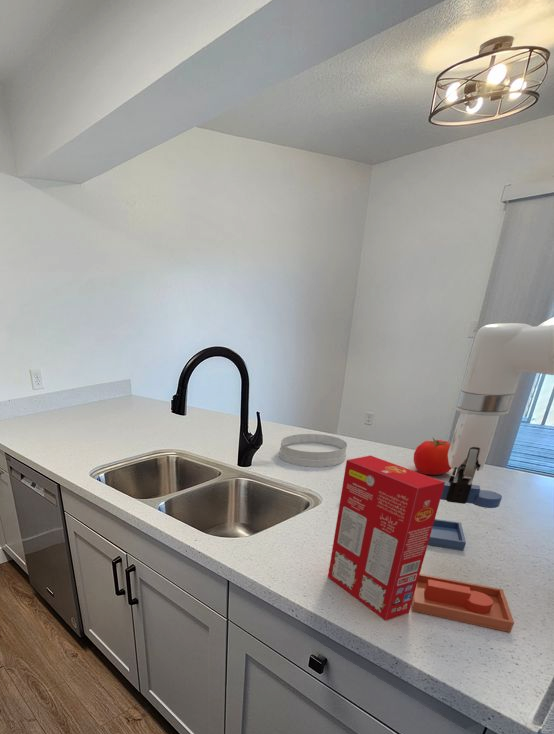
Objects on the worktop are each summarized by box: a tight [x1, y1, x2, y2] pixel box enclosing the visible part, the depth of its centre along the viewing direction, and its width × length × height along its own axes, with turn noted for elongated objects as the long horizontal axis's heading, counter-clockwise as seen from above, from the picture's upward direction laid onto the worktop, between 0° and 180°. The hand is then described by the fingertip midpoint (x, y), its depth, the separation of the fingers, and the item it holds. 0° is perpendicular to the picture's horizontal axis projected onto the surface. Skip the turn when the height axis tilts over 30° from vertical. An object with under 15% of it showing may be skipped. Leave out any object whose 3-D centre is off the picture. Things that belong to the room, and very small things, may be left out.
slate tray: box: [427, 518, 467, 551], centre depth 101 cm, size 14×10×2 cm
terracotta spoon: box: [424, 579, 493, 614], centre depth 78 cm, size 4×10×3 cm, turn 63°
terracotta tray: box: [411, 573, 515, 633], centre depth 78 cm, size 14×10×2 cm
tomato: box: [413, 437, 453, 476], centre depth 132 cm, size 12×12×10 cm
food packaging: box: [327, 454, 446, 621], centre depth 77 cm, size 15×5×25 cm, turn 20°
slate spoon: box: [440, 480, 503, 509], centre depth 82 cm, size 4×10×3 cm, turn 61°
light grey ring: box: [279, 433, 348, 468], centre depth 153 cm, size 22×22×5 cm
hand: (455, 498), depth 83 cm, fingers closed on slate spoon, 2 cm apart
